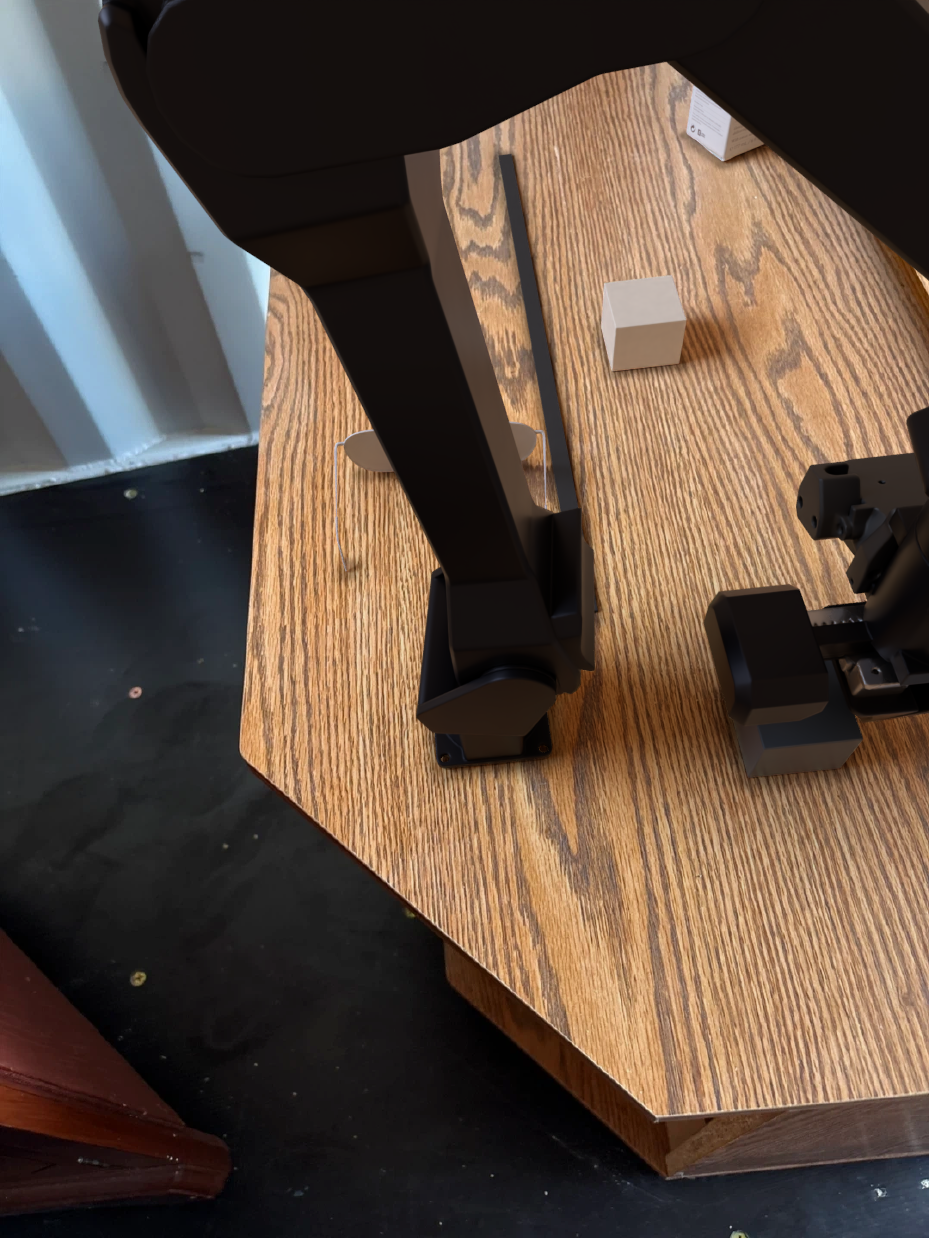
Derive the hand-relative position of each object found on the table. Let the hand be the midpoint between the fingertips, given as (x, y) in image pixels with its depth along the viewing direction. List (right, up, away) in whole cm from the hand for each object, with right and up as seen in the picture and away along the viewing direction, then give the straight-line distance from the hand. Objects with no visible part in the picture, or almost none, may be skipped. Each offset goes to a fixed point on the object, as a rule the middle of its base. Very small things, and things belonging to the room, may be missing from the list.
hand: (863, 713), depth 46 cm
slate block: (-4, -1, +1) cm, 4 cm away
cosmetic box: (+3, +49, +31) cm, 59 cm away
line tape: (-16, +27, +19) cm, 37 cm away
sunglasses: (-23, +12, +11) cm, 28 cm away
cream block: (-8, +26, +18) cm, 33 cm away
